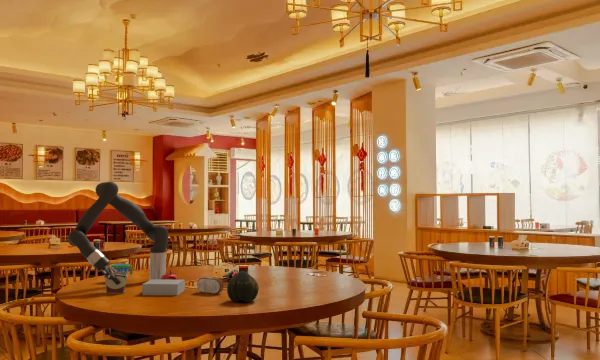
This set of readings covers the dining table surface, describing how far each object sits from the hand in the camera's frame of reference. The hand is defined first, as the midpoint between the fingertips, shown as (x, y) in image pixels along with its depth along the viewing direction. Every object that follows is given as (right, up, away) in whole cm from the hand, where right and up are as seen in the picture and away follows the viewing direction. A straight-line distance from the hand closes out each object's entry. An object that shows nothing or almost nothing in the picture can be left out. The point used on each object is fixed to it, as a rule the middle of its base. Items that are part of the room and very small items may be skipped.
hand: (120, 282), depth 267 cm
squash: (+66, -5, -22) cm, 70 cm away
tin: (+47, -5, -1) cm, 47 cm away
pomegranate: (+20, -6, +20) cm, 29 cm away
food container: (-2, -5, 0) cm, 5 cm away
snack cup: (-14, -7, +38) cm, 41 cm away
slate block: (+23, -6, 0) cm, 23 cm away
